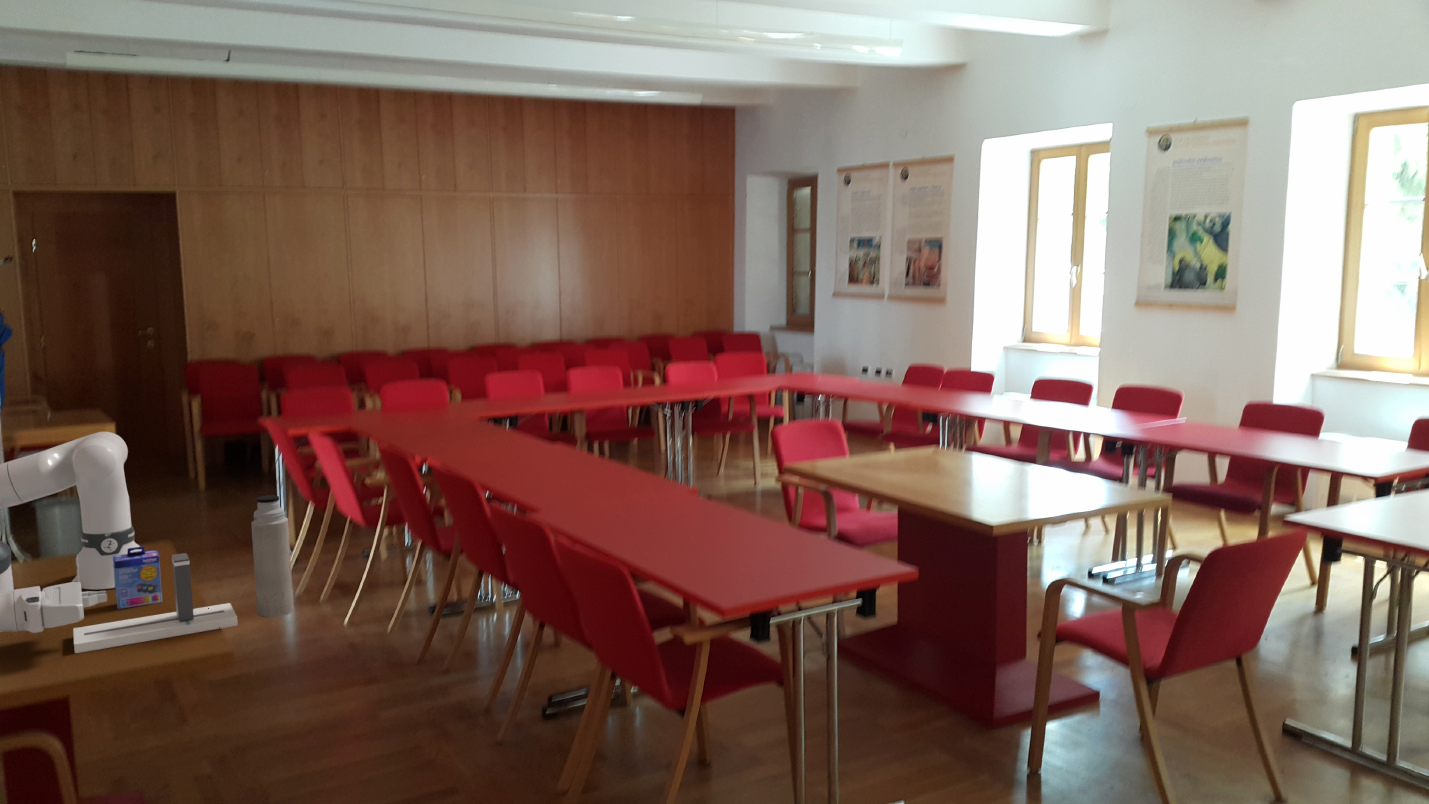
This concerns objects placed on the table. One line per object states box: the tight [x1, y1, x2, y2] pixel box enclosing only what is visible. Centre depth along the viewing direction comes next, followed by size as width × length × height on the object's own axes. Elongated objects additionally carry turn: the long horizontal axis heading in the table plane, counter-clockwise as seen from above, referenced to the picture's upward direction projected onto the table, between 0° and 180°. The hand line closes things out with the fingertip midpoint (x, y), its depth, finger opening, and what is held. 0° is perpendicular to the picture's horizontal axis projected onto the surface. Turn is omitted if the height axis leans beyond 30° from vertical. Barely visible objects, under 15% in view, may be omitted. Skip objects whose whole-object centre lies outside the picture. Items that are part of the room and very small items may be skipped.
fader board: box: [72, 602, 239, 654], centre depth 238 cm, size 12×32×2 cm, turn 122°
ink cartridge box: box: [113, 545, 163, 610], centre depth 258 cm, size 10×6×14 cm, turn 124°
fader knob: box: [171, 552, 194, 621], centre depth 240 cm, size 6×3×14 cm, turn 32°
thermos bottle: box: [250, 494, 295, 619], centre depth 249 cm, size 8×8×28 cm
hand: (106, 595), depth 233 cm, fingers closed
